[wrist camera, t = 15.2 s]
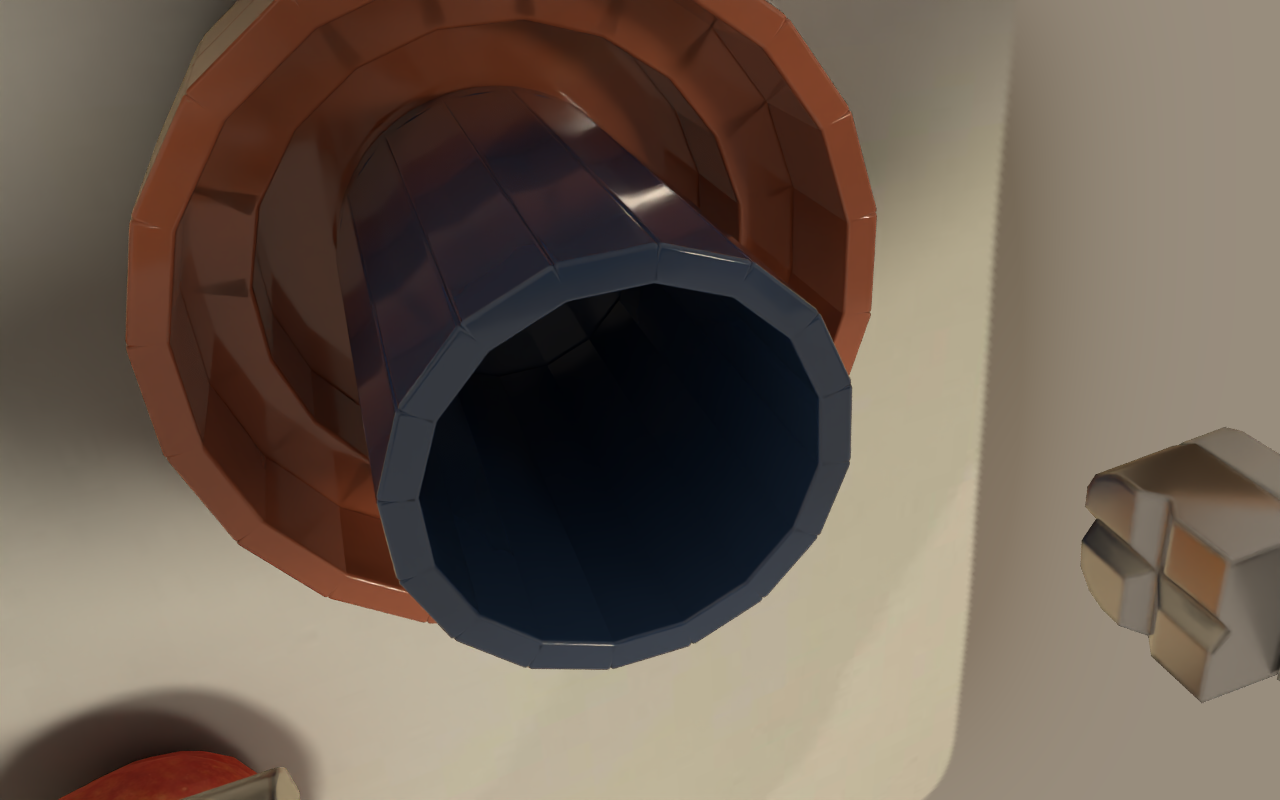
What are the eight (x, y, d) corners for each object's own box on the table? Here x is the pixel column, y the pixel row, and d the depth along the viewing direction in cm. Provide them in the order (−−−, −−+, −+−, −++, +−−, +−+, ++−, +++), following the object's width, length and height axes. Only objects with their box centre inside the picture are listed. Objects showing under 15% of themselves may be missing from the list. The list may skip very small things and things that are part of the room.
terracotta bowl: (496, -271, 17) (572, -307, 13) (858, 224, 23) (985, 307, 19) (4, 237, 18) (-74, 356, 14) (479, 569, 25) (523, 718, 21)
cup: (266, 200, 19) (266, 446, 11) (552, 19, 19) (744, 143, 11) (451, 432, 22) (547, 740, 15) (691, 279, 22) (910, 507, 15)
